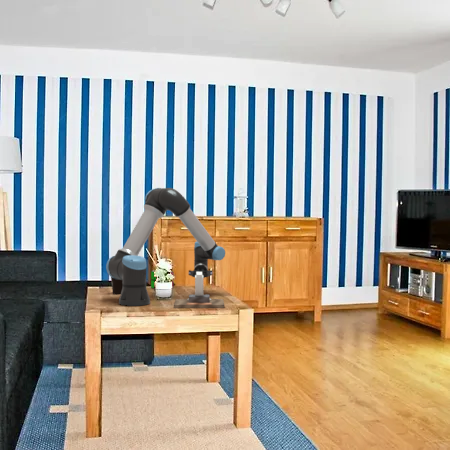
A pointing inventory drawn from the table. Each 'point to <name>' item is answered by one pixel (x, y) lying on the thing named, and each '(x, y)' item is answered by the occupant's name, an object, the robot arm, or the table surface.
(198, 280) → the switch lever
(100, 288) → the table surface
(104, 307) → the table surface
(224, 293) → the table surface
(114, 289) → the coffee mug
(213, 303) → the switch base
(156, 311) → the table surface
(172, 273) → the puzzle cube
